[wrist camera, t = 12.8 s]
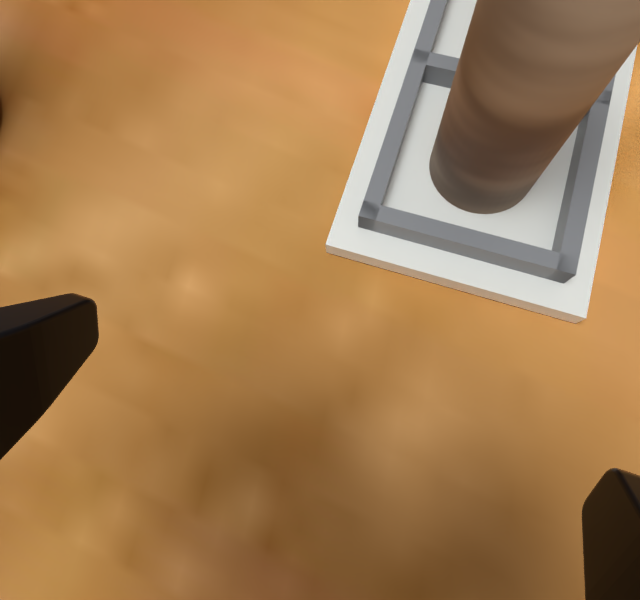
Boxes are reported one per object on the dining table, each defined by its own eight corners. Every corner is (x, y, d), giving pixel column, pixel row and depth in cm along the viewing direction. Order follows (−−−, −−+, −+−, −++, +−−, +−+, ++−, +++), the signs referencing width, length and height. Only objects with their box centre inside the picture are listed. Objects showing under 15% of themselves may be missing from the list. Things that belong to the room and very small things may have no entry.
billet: (553, 191, 22) (860, -175, 9) (457, 229, 22) (626, -91, 9) (503, 109, 24) (704, -312, 10) (412, 144, 24) (499, -243, 10)
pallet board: (575, 323, 22) (600, 311, 20) (326, 252, 23) (324, 233, 21) (642, -21, 27) (666, -60, 25) (434, -59, 29) (441, -99, 26)
